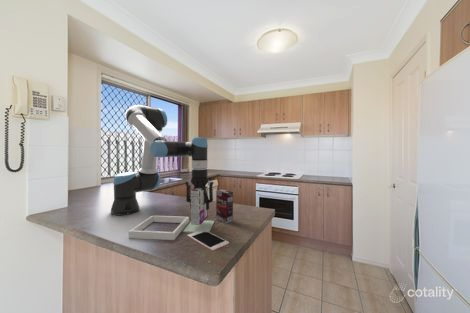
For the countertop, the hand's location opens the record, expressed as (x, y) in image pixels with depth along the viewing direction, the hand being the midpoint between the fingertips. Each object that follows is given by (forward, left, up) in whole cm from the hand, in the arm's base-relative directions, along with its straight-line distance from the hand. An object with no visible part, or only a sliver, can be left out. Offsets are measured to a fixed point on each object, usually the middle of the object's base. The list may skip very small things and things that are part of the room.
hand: (199, 215), depth 97 cm
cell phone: (+7, -13, -6) cm, 16 cm away
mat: (0, 0, -5) cm, 5 cm away
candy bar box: (0, 0, -2) cm, 2 cm away
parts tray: (-17, -5, -5) cm, 19 cm away
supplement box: (+11, +10, -6) cm, 16 cm away
